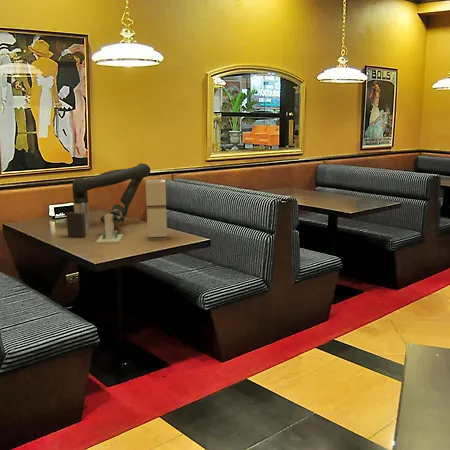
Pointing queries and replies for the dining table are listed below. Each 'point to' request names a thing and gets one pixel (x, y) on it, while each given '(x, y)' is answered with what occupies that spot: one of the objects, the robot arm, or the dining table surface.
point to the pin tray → (115, 239)
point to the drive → (109, 226)
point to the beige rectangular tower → (156, 209)
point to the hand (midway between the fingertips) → (110, 221)
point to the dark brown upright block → (76, 224)
